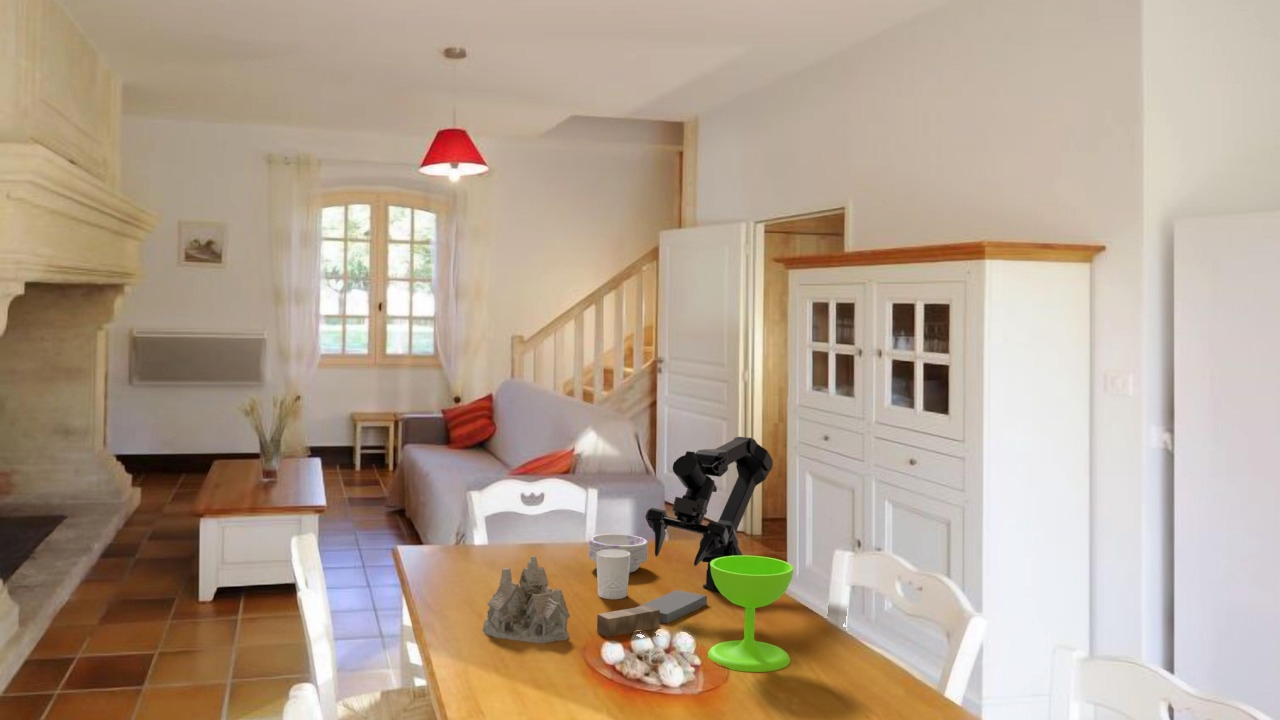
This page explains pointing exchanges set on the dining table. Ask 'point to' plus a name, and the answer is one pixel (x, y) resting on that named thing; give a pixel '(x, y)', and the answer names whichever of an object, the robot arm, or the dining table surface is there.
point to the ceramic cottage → (527, 608)
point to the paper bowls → (620, 547)
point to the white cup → (613, 573)
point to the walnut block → (628, 620)
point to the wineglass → (750, 608)
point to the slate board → (677, 604)
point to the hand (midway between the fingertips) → (675, 560)
